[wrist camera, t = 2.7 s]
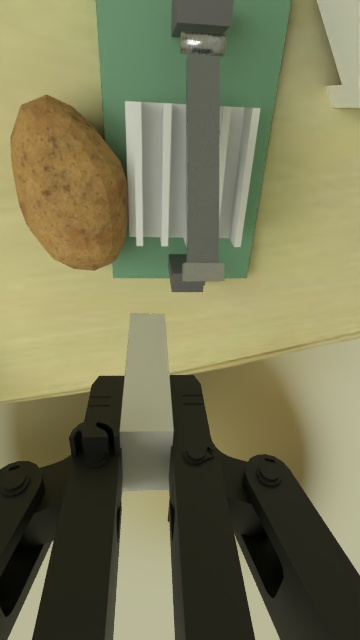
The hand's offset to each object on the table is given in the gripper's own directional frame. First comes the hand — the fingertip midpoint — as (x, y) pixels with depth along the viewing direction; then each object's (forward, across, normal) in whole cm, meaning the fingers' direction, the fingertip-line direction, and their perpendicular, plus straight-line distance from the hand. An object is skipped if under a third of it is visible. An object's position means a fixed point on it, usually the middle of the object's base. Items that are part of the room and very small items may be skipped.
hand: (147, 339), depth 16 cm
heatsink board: (+24, +4, +5) cm, 24 cm away
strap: (+13, +4, +6) cm, 15 cm away
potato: (+24, -7, +3) cm, 25 cm away
